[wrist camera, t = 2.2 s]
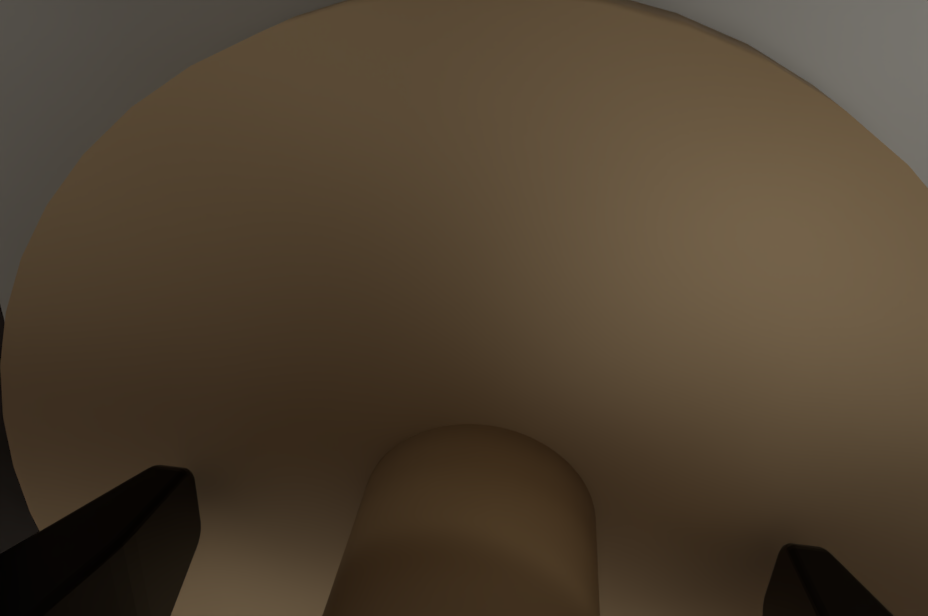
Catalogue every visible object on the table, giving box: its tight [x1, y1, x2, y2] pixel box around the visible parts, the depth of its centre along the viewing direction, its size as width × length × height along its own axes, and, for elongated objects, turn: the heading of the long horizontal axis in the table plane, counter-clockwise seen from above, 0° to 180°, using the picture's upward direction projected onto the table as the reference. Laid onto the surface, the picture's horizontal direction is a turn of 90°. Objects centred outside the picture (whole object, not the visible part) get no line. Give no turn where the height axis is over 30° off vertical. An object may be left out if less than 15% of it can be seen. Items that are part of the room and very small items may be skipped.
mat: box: [0, 0, 928, 321], centre depth 10 cm, size 12×20×1 cm, turn 87°
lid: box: [0, 0, 928, 616], centre depth 8 cm, size 11×11×4 cm
